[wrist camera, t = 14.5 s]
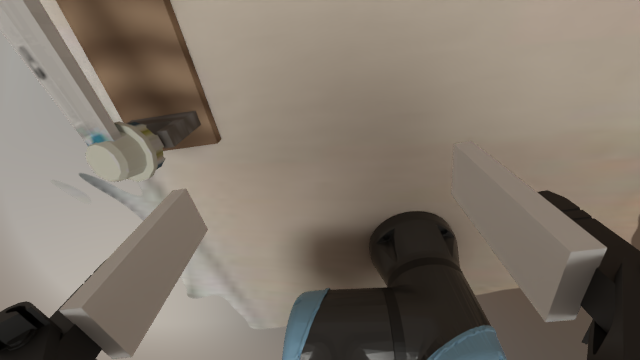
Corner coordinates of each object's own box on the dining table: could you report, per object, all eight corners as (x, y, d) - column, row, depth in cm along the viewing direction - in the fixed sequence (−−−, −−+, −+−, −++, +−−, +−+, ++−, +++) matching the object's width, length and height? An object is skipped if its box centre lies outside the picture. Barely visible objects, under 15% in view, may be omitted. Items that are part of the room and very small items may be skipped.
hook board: (221, 139, 39) (195, 168, 32) (146, 149, 41) (104, 180, 33) (131, -104, 26) (49, -155, 19) (25, -78, 27) (-94, -116, 20)
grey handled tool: (-103, -179, 16) (137, 190, 25) (22, -110, 22) (177, 165, 31) (-157, -135, 17) (92, 204, 26) (-23, -82, 23) (140, 176, 32)
